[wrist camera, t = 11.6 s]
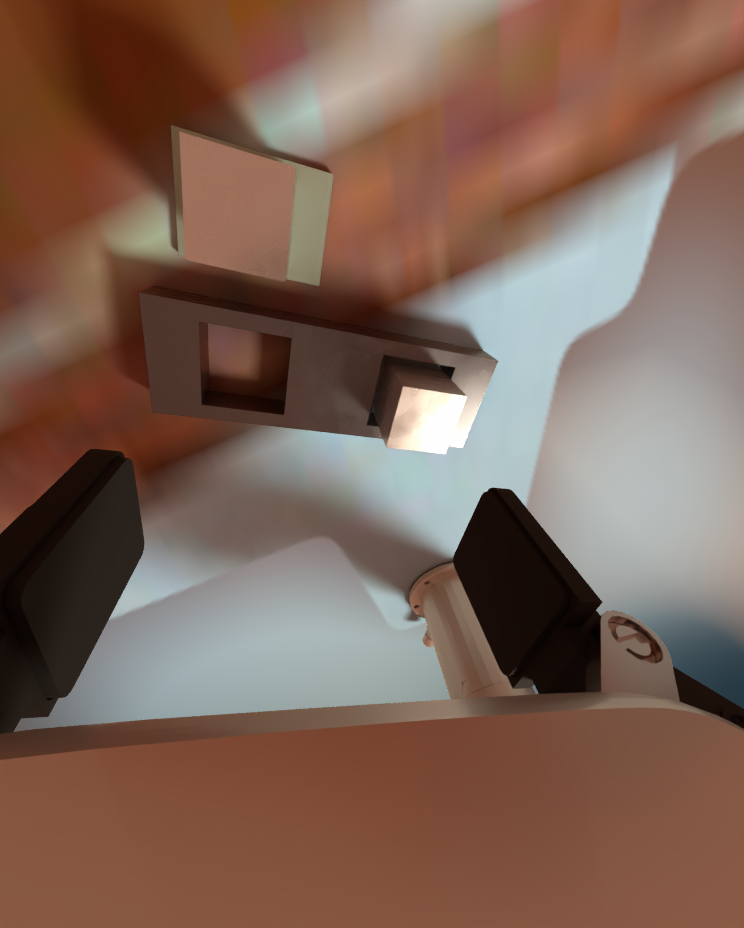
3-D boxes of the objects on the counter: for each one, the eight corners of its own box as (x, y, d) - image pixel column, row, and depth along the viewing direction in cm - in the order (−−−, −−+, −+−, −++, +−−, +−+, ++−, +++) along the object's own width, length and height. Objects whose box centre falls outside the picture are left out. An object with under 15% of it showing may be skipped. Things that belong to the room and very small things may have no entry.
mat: (318, 284, 28) (319, 286, 28) (180, 254, 26) (178, 255, 25) (332, 175, 25) (333, 174, 24) (173, 127, 22) (170, 124, 22)
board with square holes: (452, 433, 38) (462, 447, 36) (164, 397, 31) (152, 412, 29) (483, 350, 34) (498, 360, 31) (153, 286, 26) (138, 292, 24)
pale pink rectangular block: (289, 267, 27) (285, 282, 20) (214, 250, 25) (185, 259, 19) (296, 182, 24) (295, 167, 17) (214, 157, 23) (179, 131, 16)
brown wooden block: (419, 412, 36) (445, 453, 30) (370, 405, 35) (386, 447, 28) (434, 362, 34) (467, 396, 27) (382, 353, 32) (403, 386, 26)
